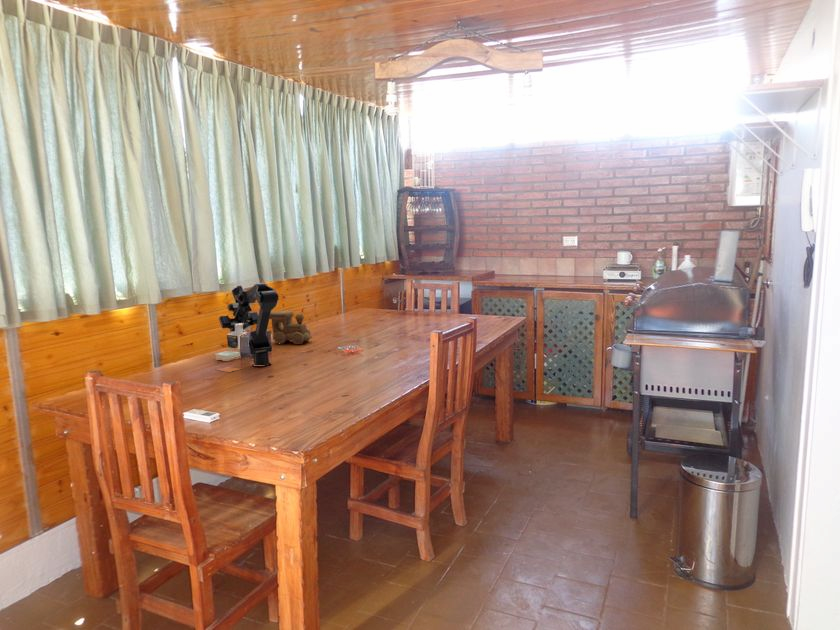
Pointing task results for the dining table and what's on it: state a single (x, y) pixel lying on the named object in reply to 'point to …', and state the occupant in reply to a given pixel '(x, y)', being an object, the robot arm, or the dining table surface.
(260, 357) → the robot arm
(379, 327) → the dining table surface
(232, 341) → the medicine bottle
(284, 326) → the wooden toy train
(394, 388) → the dining table surface
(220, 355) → the base block
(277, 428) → the dining table surface
